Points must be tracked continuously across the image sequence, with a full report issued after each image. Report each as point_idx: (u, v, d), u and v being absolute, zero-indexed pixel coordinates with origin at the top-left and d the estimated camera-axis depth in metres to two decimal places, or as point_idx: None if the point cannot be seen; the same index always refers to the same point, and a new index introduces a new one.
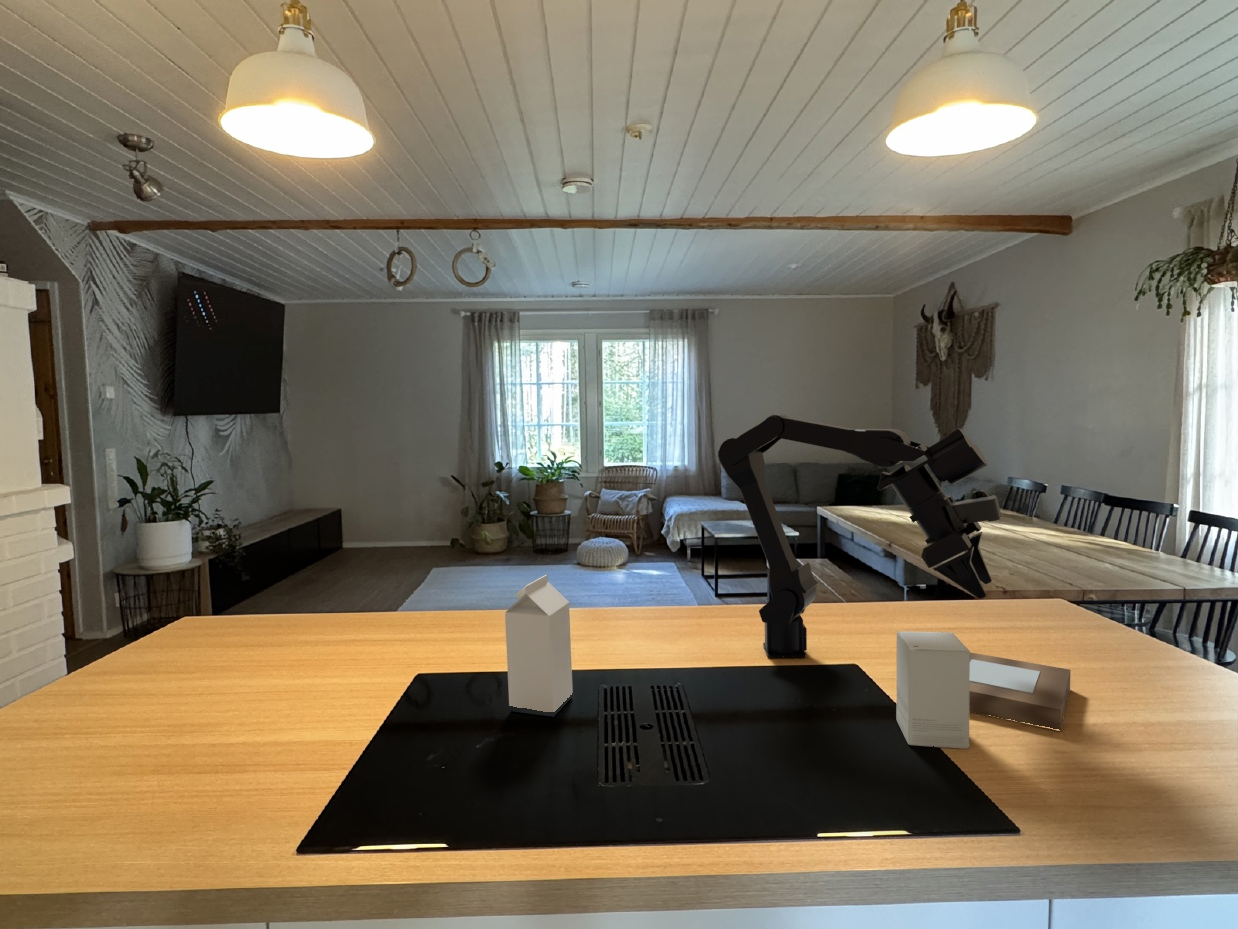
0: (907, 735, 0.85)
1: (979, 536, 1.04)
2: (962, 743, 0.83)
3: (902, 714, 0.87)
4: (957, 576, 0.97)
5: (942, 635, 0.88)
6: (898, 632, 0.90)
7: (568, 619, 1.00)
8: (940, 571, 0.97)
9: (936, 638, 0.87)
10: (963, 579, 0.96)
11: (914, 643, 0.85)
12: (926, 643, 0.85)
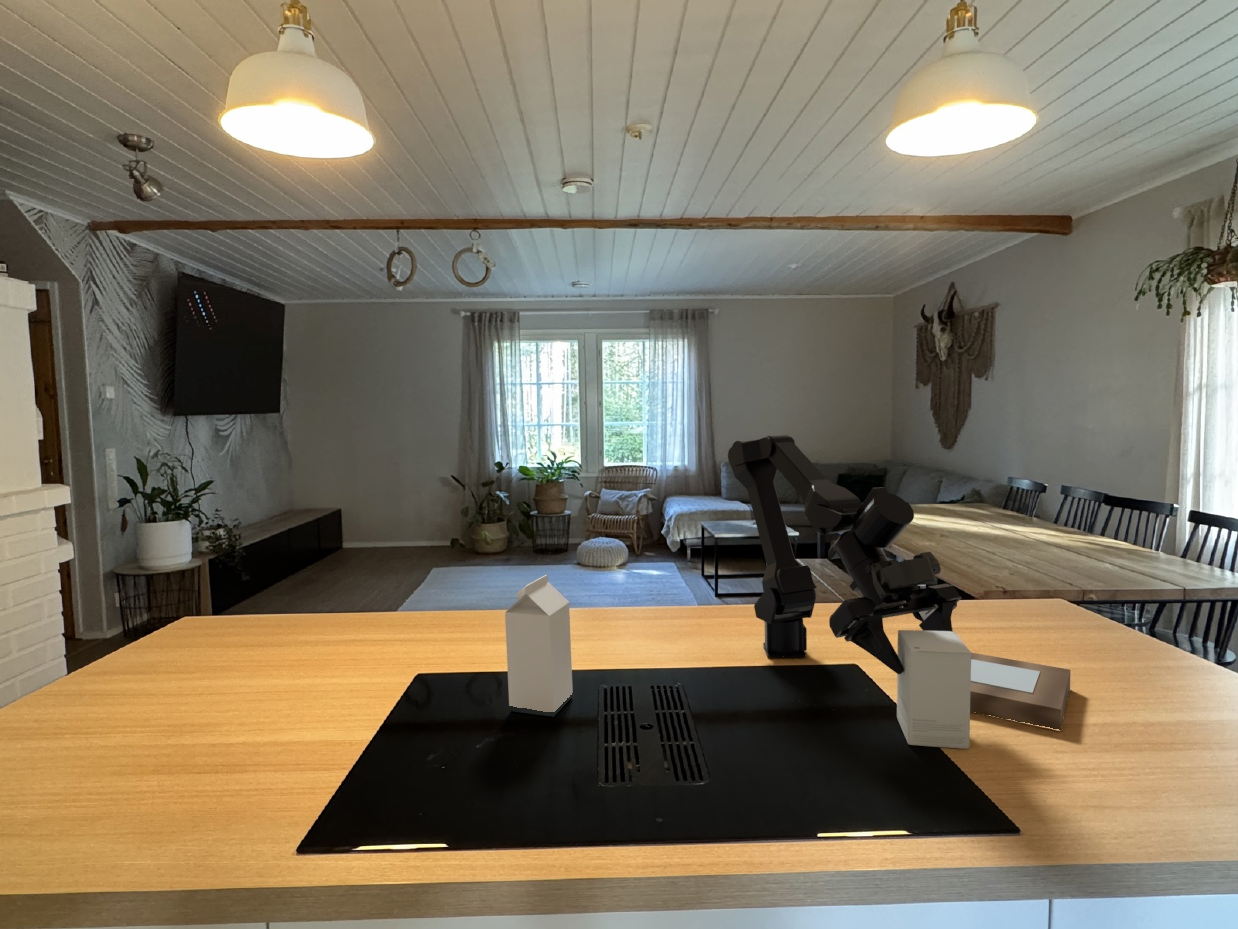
0: (907, 735, 0.85)
1: (941, 606, 0.91)
2: (962, 744, 0.83)
3: (902, 713, 0.87)
4: (872, 648, 0.88)
5: (944, 635, 0.87)
6: (899, 631, 0.89)
7: (568, 619, 1.00)
8: (855, 642, 0.90)
9: (937, 638, 0.86)
10: (877, 651, 0.88)
11: (915, 645, 0.84)
12: (927, 644, 0.84)
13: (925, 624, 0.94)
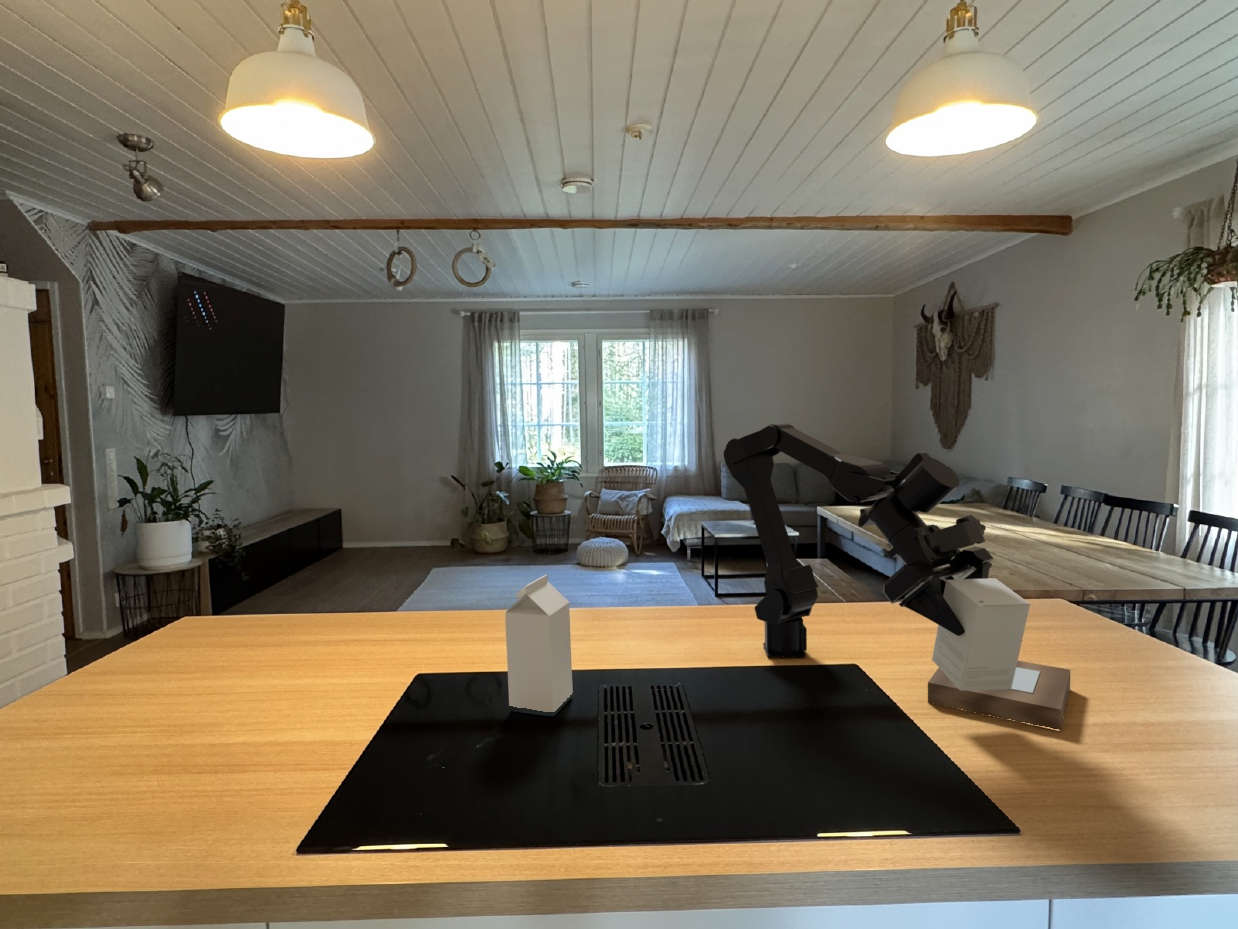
0: (959, 682, 0.87)
1: (981, 567, 0.93)
2: (1007, 685, 0.87)
3: (950, 660, 0.89)
4: (928, 611, 0.88)
5: (991, 583, 0.89)
6: (949, 581, 0.90)
7: (568, 619, 1.00)
8: (909, 607, 0.90)
9: (989, 588, 0.87)
10: (935, 614, 0.88)
11: (977, 598, 0.85)
12: (987, 597, 0.85)
13: None
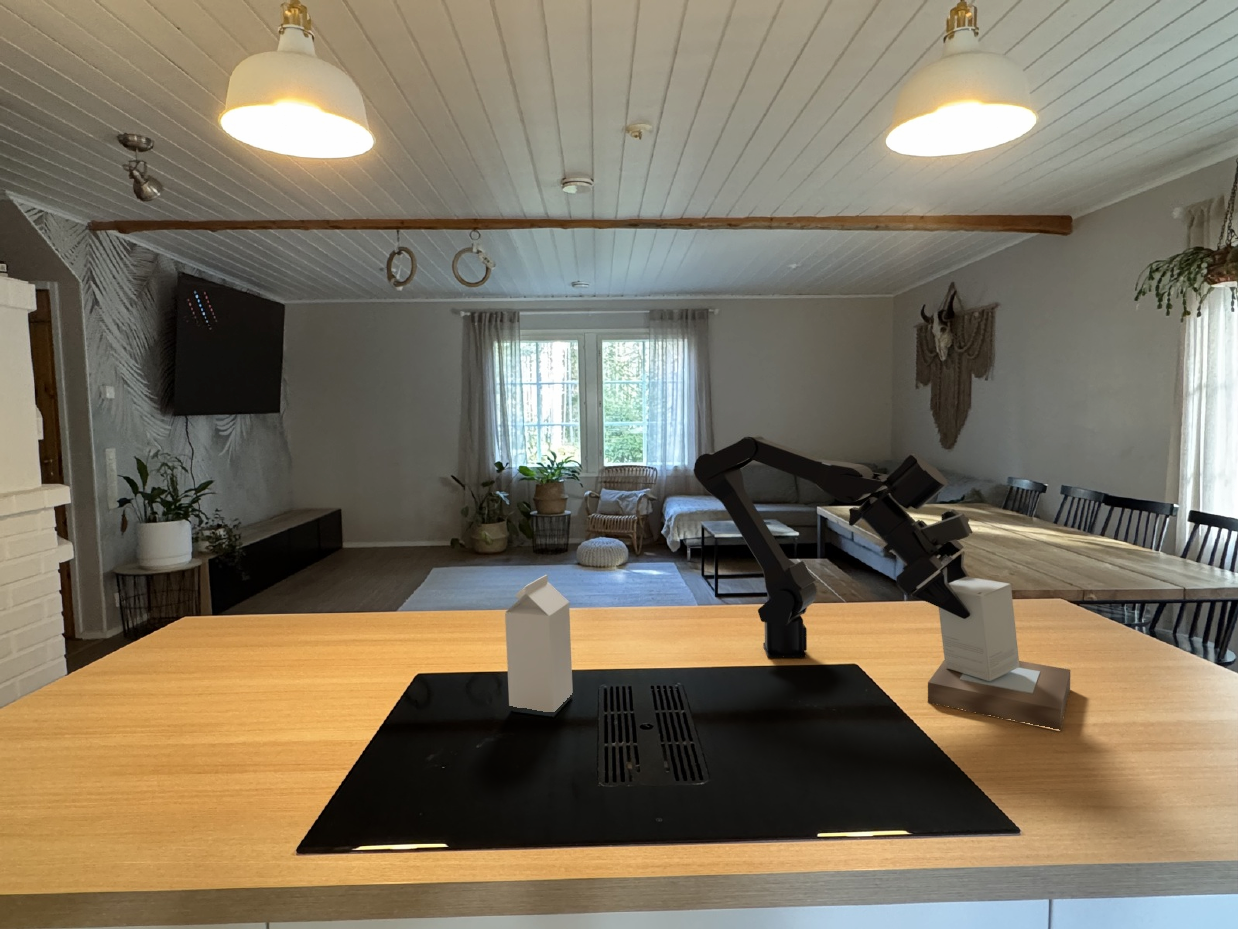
0: (985, 673, 0.95)
1: (960, 556, 1.04)
2: (1016, 664, 0.97)
3: (968, 658, 0.97)
4: (937, 599, 0.96)
5: (969, 580, 1.01)
6: None
7: (568, 619, 1.00)
8: (919, 597, 0.97)
9: (973, 583, 0.99)
10: (943, 601, 0.96)
11: (973, 591, 0.96)
12: (979, 589, 0.96)
13: None
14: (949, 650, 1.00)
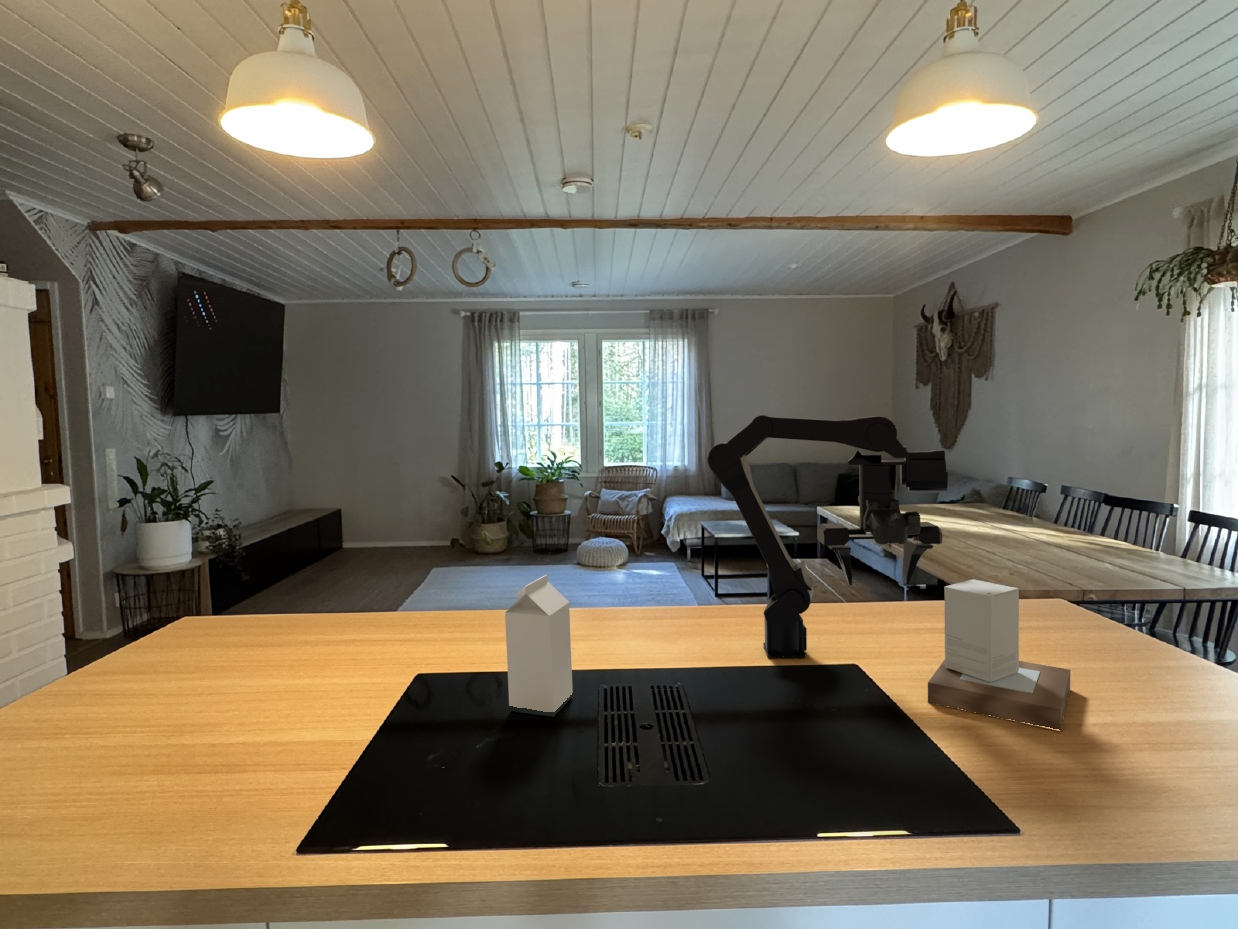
0: (987, 674, 0.95)
1: (915, 547, 1.08)
2: (1016, 669, 0.98)
3: (970, 658, 0.97)
4: (840, 558, 1.13)
5: (976, 582, 1.01)
6: (947, 587, 1.00)
7: (568, 619, 1.00)
8: None
9: (981, 585, 0.99)
10: (841, 563, 1.13)
11: (982, 592, 0.96)
12: (988, 590, 0.97)
13: (905, 544, 1.13)
14: (951, 649, 1.00)
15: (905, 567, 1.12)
